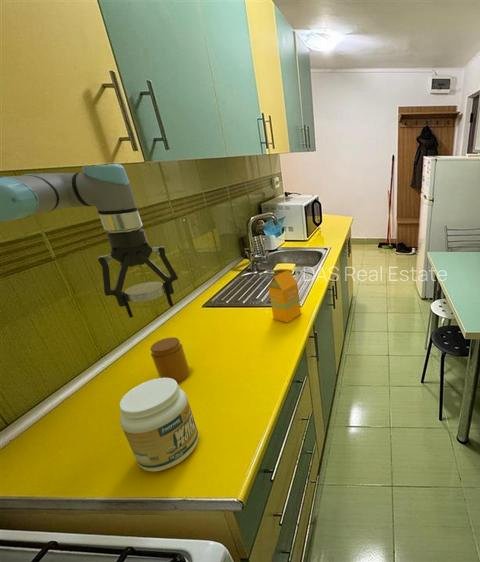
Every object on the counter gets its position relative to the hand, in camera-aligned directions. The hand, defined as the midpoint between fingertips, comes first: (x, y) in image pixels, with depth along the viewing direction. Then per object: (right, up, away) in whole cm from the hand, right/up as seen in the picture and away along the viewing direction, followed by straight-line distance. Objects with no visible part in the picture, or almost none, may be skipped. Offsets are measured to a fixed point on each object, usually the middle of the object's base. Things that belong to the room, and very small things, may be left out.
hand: (151, 309), depth 84 cm
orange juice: (+24, -7, +46) cm, 53 cm away
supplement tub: (+14, -32, -13) cm, 37 cm away
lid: (0, +6, -2) cm, 6 cm away
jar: (-1, -22, +11) cm, 25 cm away
